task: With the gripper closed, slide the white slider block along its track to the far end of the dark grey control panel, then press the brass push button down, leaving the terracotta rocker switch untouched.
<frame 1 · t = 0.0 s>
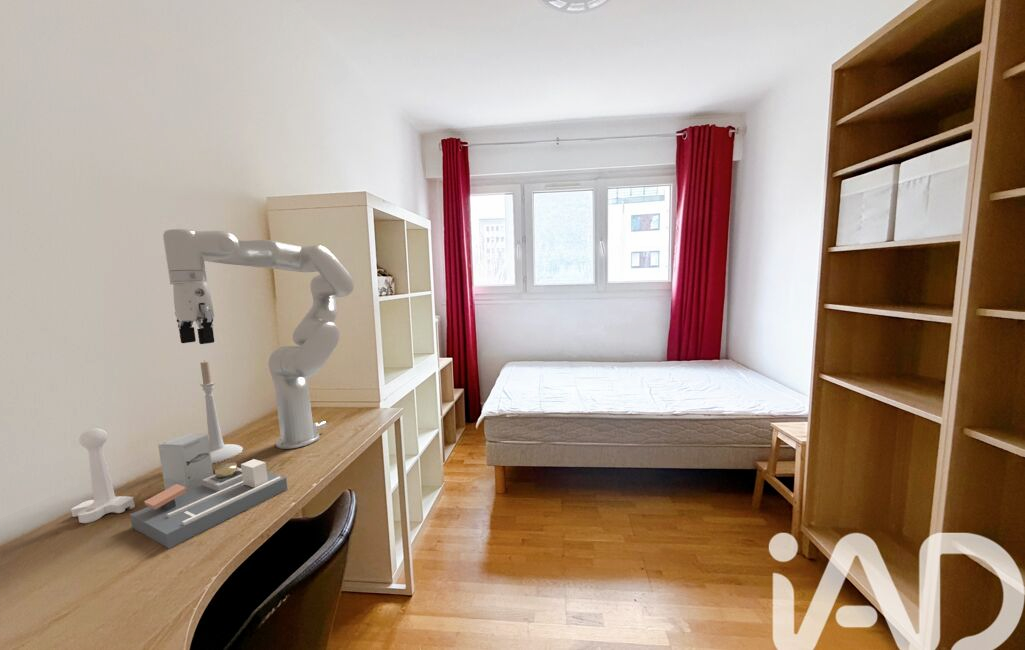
hand: (197, 342, 105), 37 cm above the table, tool pointing down, fingers open, 9 cm apart
control panel: (215, 506, 92), on the table
white slider block: (254, 473, 95), point 6 cm above the table, slide at 0.0 cm
supplement box: (190, 485, 103), on the table
rocker switch: (166, 496, 87), point 5 cm above the table, hinge at 10.0°
push button: (226, 470, 97), point 6 cm above the table, slide at 0.0 cm
candlestick: (218, 456, 121), on the table
joystick: (100, 515, 91), on the table
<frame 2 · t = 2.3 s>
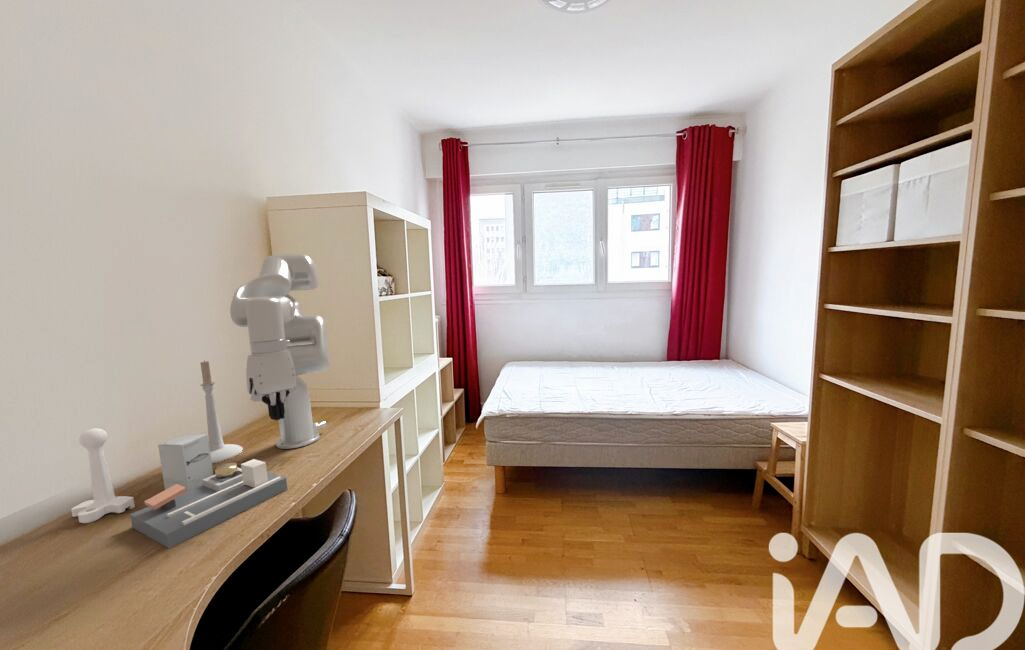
hand: (277, 418, 100), 17 cm above the table, tool pointing down, fingers closed
nothing on the table moved.
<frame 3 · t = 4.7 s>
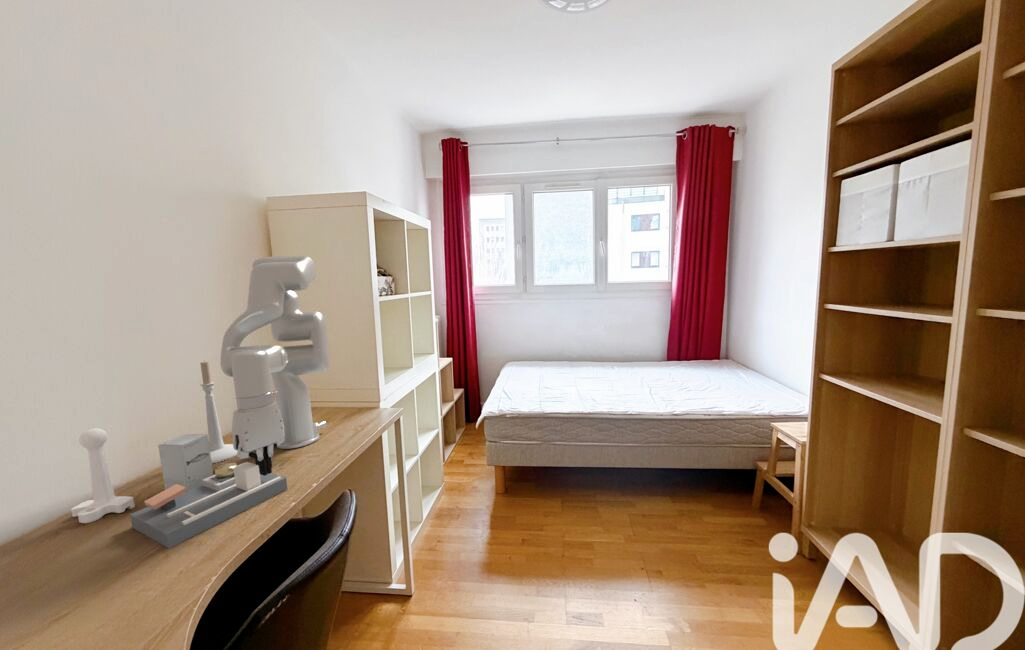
hand: (264, 473, 97), 5 cm above the table, tool pointing down, fingers closed
white slider block: (247, 476, 94), point 6 cm above the table, slide at 1.7 cm, touching gripper
everything else where it was.
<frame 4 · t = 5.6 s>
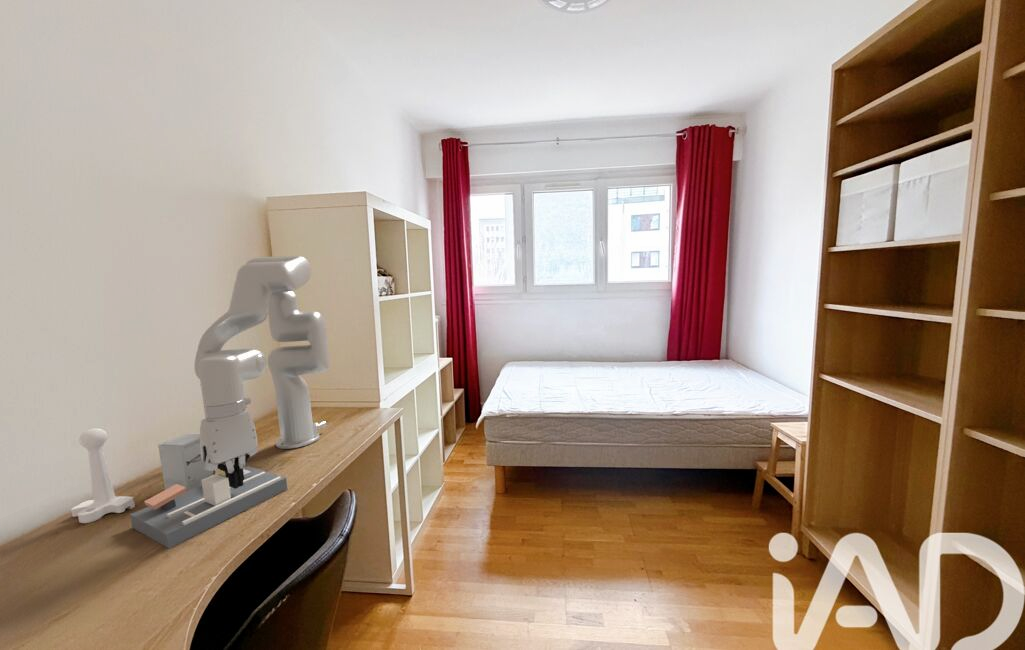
hand: (236, 485, 92), 5 cm above the table, tool pointing down, fingers closed
white slider block: (216, 489, 88), point 6 cm above the table, slide at 8.2 cm, touching gripper
everything else where it was.
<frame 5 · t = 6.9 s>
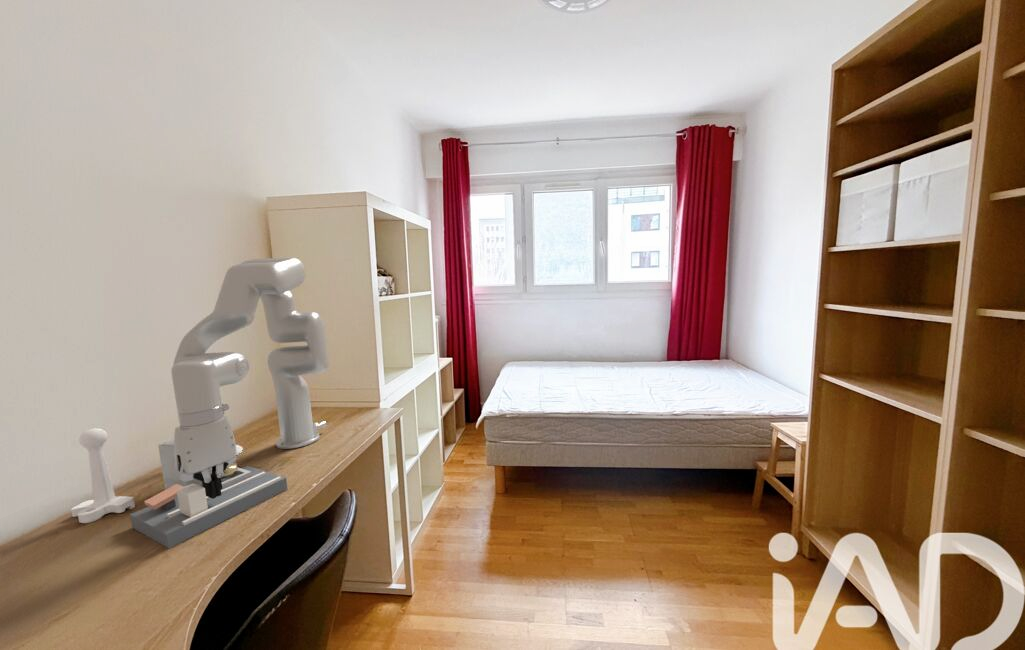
hand: (213, 495, 88), 5 cm above the table, tool pointing down, fingers closed
white slider block: (192, 500, 84), point 6 cm above the table, slide at 12.7 cm, touching gripper
everything else where it was.
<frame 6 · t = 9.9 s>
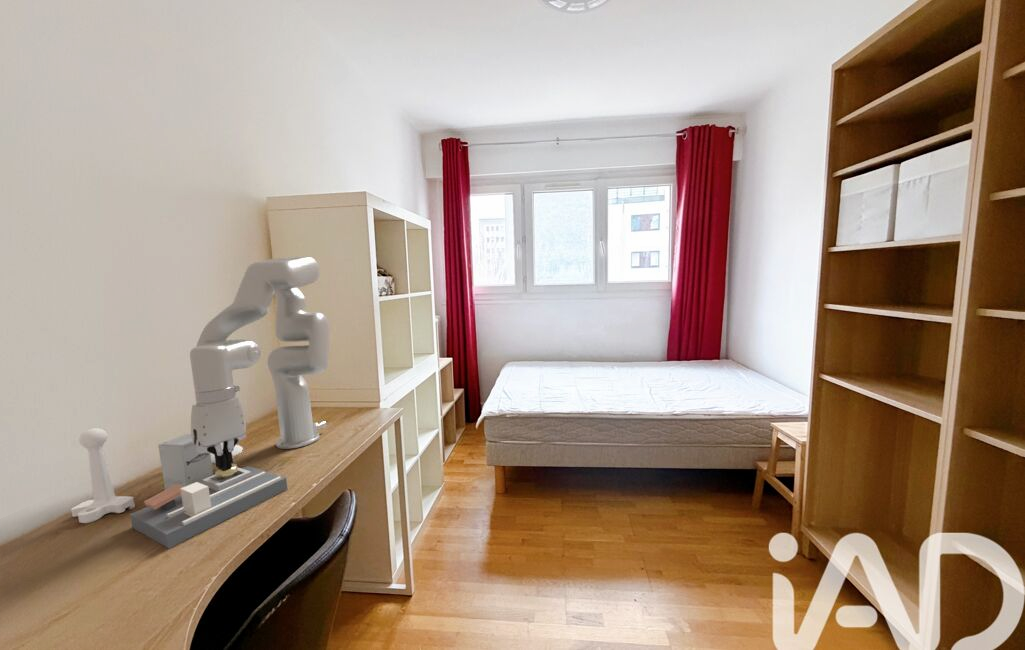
hand: (225, 468, 97), 7 cm above the table, tool pointing down, fingers closed
white slider block: (196, 498, 85), point 6 cm above the table, slide at 12.1 cm
push button: (226, 471, 97), point 6 cm above the table, slide at 0.3 cm, touching gripper
everything else where it was.
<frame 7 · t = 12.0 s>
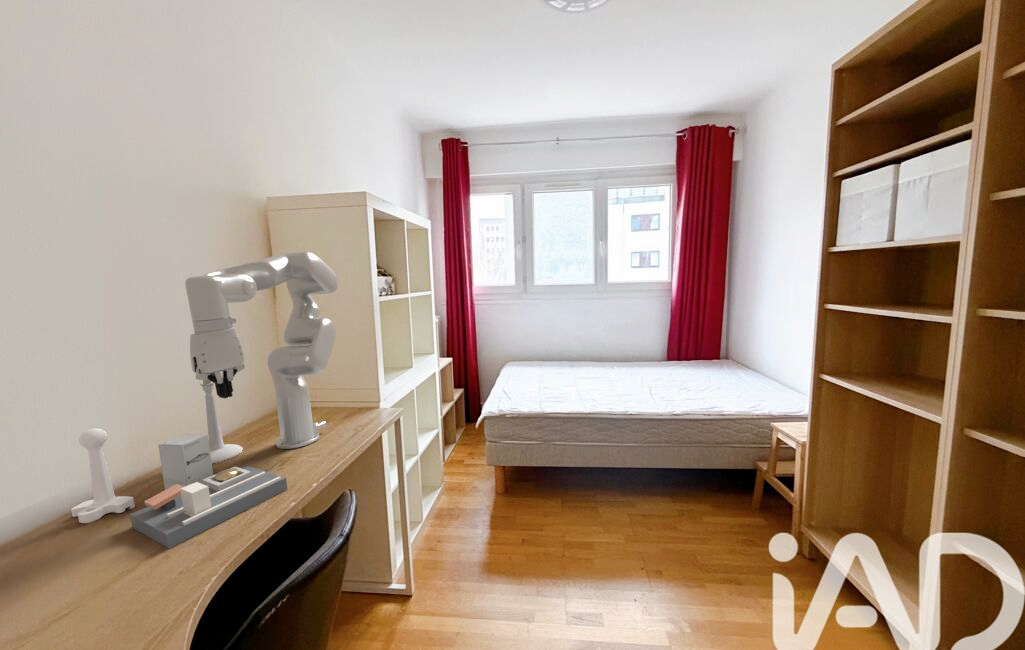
hand: (225, 396, 101), 23 cm above the table, tool pointing down, fingers closed
push button: (227, 476, 98), point 4 cm above the table, slide at 1.5 cm
everything else where it was.
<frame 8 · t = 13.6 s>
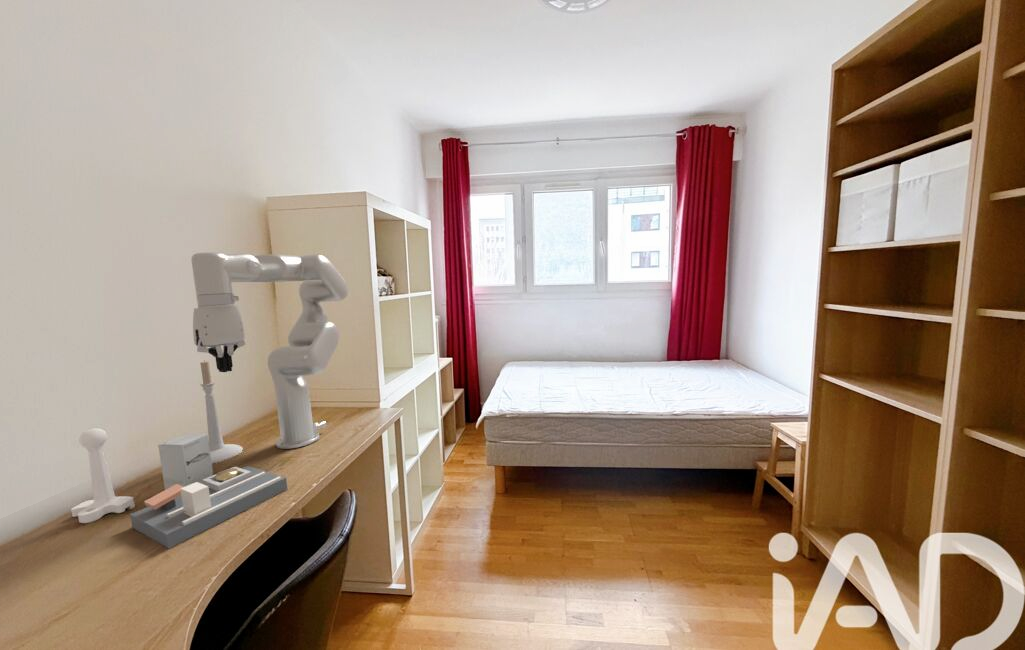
hand: (225, 371, 103), 29 cm above the table, tool pointing down, fingers closed
nothing on the table moved.
at the end: white slider block slide at 12.1 cm; push button slide at 1.5 cm; rocker switch at +10° (first picture: +10°) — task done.
